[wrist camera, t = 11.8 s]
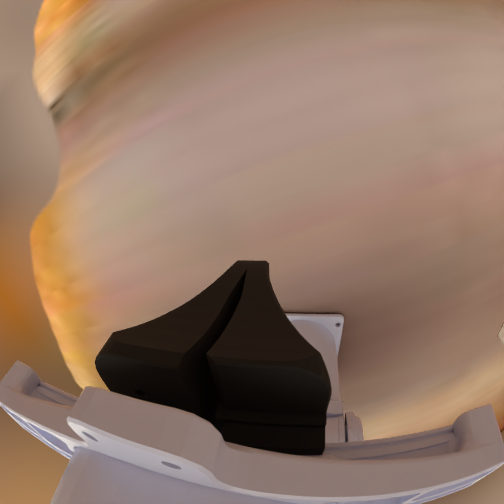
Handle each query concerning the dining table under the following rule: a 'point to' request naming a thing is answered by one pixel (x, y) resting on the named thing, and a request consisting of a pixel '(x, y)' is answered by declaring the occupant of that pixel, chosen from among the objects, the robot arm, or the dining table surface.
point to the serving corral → (501, 334)
